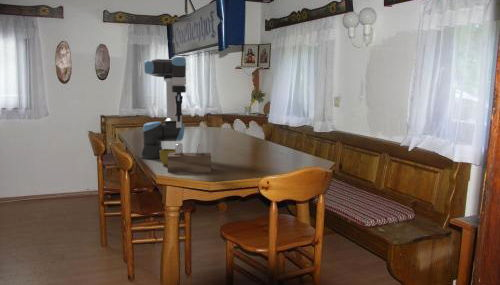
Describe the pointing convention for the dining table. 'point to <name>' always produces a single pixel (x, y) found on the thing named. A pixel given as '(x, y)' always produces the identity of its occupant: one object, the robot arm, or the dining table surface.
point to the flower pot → (165, 155)
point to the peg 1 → (178, 149)
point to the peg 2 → (200, 149)
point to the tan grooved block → (189, 162)
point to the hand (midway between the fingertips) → (179, 126)
